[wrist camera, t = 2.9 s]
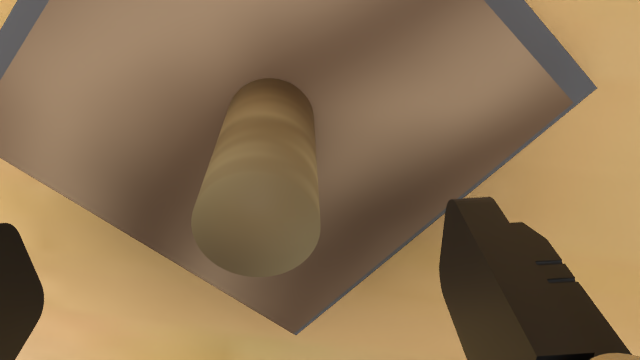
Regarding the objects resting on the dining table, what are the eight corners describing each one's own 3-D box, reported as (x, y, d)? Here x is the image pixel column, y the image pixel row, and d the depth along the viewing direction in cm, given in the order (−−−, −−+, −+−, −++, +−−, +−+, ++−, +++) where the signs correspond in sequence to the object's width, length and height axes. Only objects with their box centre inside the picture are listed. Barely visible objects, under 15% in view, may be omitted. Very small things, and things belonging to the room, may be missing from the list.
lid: (556, 90, 17) (707, 202, 11) (293, 313, 22) (291, 478, 16) (234, -276, 12) (160, -472, 6) (-14, 122, 17) (-201, 254, 10)
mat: (588, 82, 17) (597, 88, 17) (296, 325, 23) (295, 335, 22) (229, -347, 12) (225, -358, 11) (-44, 117, 17) (-55, 124, 17)
